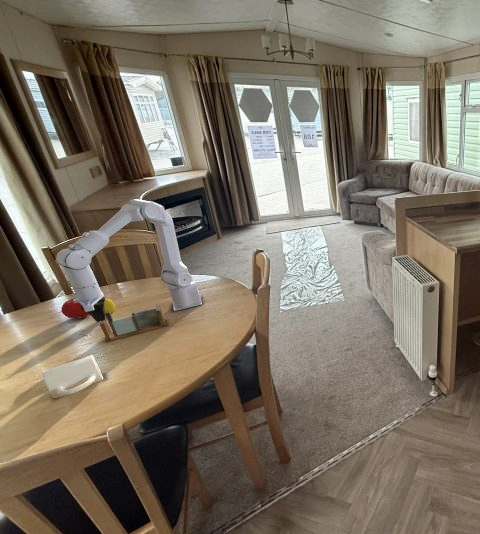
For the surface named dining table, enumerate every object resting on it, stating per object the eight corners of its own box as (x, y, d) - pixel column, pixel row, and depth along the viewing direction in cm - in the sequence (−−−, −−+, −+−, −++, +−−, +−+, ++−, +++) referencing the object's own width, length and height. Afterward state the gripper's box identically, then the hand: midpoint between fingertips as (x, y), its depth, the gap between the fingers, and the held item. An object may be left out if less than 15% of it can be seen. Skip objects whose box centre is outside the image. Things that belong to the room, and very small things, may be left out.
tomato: (97, 307, 135) (89, 289, 132) (98, 316, 130) (90, 298, 126) (66, 315, 130) (57, 297, 126) (65, 325, 124) (56, 306, 121)
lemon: (122, 313, 132) (114, 295, 129) (108, 320, 127) (100, 302, 124) (109, 312, 133) (101, 294, 129) (95, 319, 128) (86, 301, 124)
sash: (140, 328, 122) (131, 306, 118) (140, 329, 121) (131, 307, 117) (114, 335, 118) (104, 312, 114) (114, 336, 117) (104, 314, 113)
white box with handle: (53, 388, 96) (41, 366, 93) (101, 371, 103) (90, 350, 100) (57, 411, 89) (43, 389, 86) (107, 391, 96) (96, 369, 93)
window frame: (165, 320, 128) (159, 305, 125) (165, 326, 125) (159, 310, 122) (108, 335, 119) (101, 318, 116) (107, 341, 116) (99, 324, 113)
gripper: (71, 279, 111) (87, 314, 117) (63, 297, 101) (81, 334, 106) (100, 274, 115) (115, 308, 121) (95, 290, 105) (111, 327, 110)
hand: (101, 320), depth 114 cm, fingers closed, pressing on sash
